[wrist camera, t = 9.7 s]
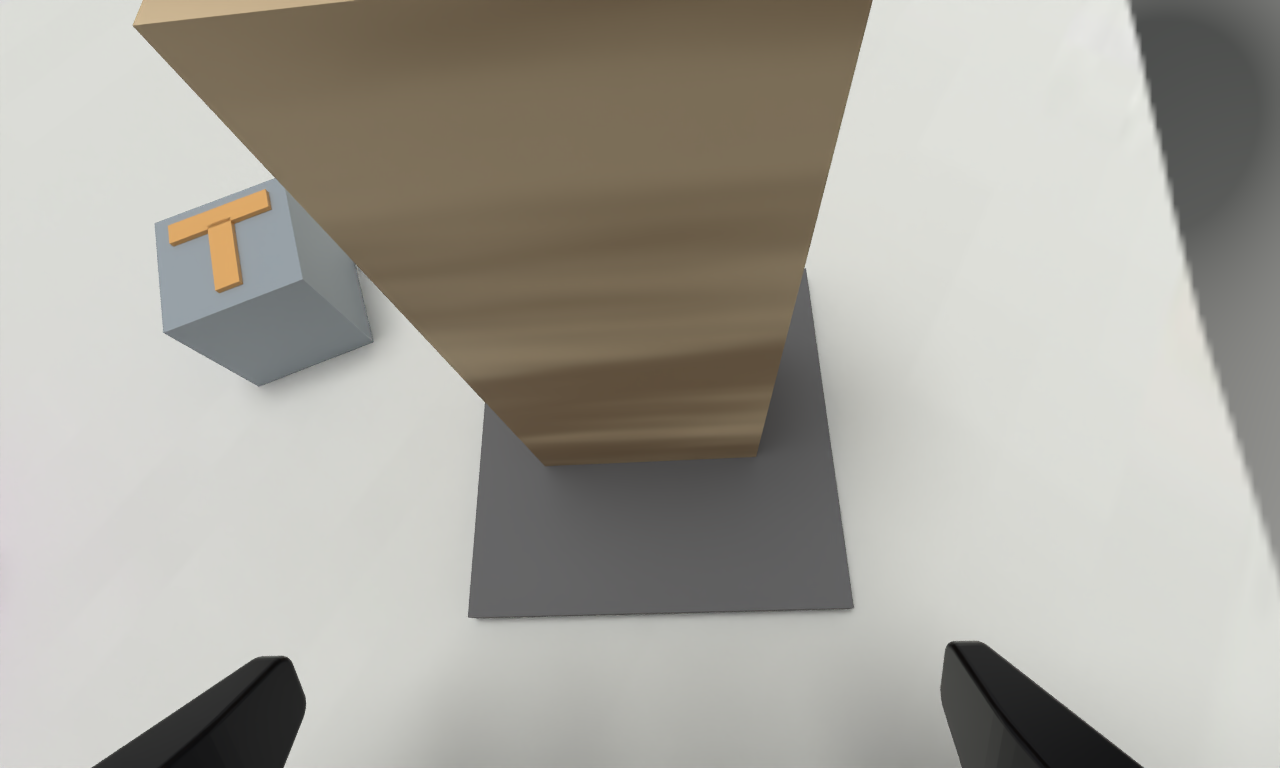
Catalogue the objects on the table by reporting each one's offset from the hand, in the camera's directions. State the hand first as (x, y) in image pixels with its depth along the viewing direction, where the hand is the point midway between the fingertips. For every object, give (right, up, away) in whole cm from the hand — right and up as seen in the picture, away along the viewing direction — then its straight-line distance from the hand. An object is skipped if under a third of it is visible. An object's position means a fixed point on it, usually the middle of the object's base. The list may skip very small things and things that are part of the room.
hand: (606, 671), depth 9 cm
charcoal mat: (+1, +2, +10) cm, 10 cm away
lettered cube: (-11, +6, +13) cm, 18 cm away
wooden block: (+1, +3, +10) cm, 10 cm away
